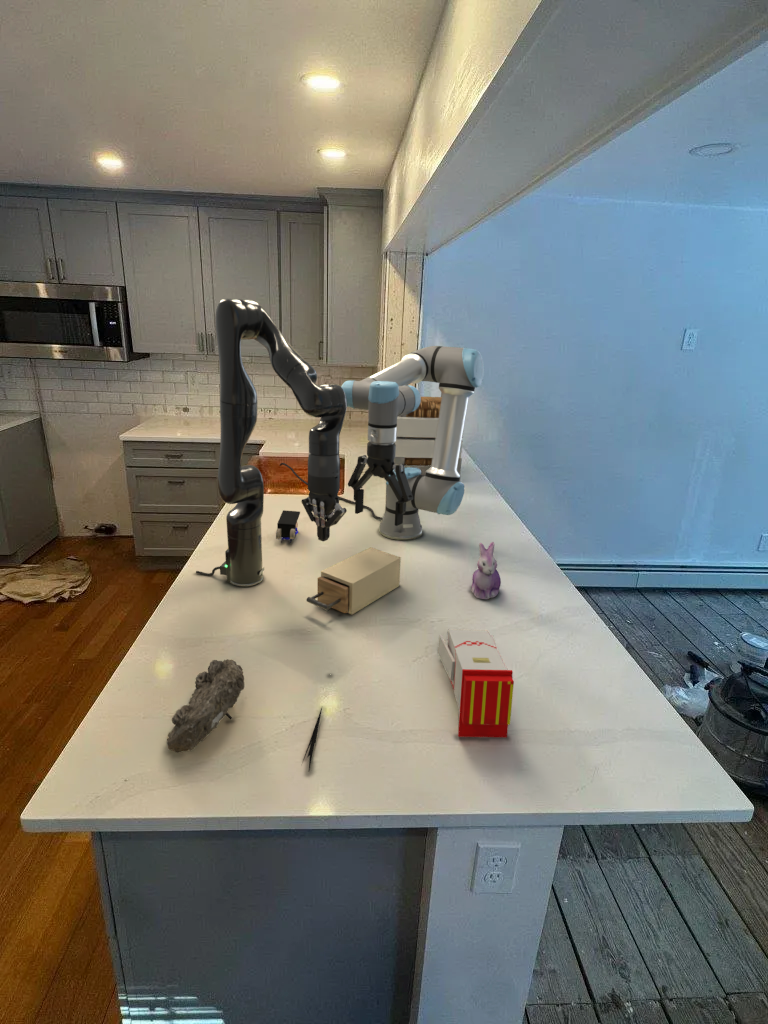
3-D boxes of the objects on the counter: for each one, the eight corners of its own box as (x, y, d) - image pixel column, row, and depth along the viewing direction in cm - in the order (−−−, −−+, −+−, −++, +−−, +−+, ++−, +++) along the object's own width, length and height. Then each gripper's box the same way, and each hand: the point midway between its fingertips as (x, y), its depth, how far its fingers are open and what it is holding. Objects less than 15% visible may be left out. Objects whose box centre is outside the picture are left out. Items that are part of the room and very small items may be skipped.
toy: (488, 613, 130) (523, 677, 101) (484, 667, 133) (517, 744, 104) (435, 612, 130) (455, 676, 101) (432, 666, 133) (451, 743, 103)
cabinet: (351, 614, 146) (352, 583, 143) (320, 601, 152) (320, 571, 149) (399, 586, 162) (400, 557, 159) (369, 574, 168) (370, 547, 165)
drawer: (330, 622, 140) (330, 597, 138) (302, 609, 146) (302, 585, 143) (390, 586, 160) (392, 563, 157) (364, 576, 165) (364, 554, 163)
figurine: (482, 603, 154) (488, 553, 149) (461, 587, 163) (466, 539, 158) (510, 597, 158) (516, 547, 153) (487, 581, 167) (493, 534, 162)
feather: (331, 679, 122) (336, 673, 122) (307, 777, 96) (313, 769, 95) (324, 675, 122) (329, 669, 121) (298, 772, 95) (304, 764, 95)
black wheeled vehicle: (295, 549, 186) (301, 528, 200) (295, 529, 183) (300, 509, 196) (275, 549, 186) (282, 527, 199) (274, 528, 183) (281, 508, 196)
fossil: (192, 660, 117) (244, 628, 112) (224, 691, 120) (276, 661, 115) (142, 746, 98) (202, 712, 93) (182, 779, 101) (242, 748, 96)
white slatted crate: (382, 463, 289) (386, 382, 275) (445, 464, 293) (451, 384, 279) (390, 482, 257) (394, 392, 243) (460, 483, 261) (468, 394, 247)
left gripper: (292, 468, 133) (292, 537, 139) (334, 480, 126) (333, 551, 132) (314, 463, 139) (314, 528, 145) (356, 473, 131) (354, 542, 137)
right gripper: (336, 436, 152) (334, 510, 159) (413, 453, 138) (408, 533, 145) (353, 432, 158) (351, 504, 165) (429, 448, 144) (424, 525, 151)
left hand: (323, 539), depth 138 cm, fingers closed
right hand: (378, 518), depth 155 cm, fingers open, 13 cm apart
